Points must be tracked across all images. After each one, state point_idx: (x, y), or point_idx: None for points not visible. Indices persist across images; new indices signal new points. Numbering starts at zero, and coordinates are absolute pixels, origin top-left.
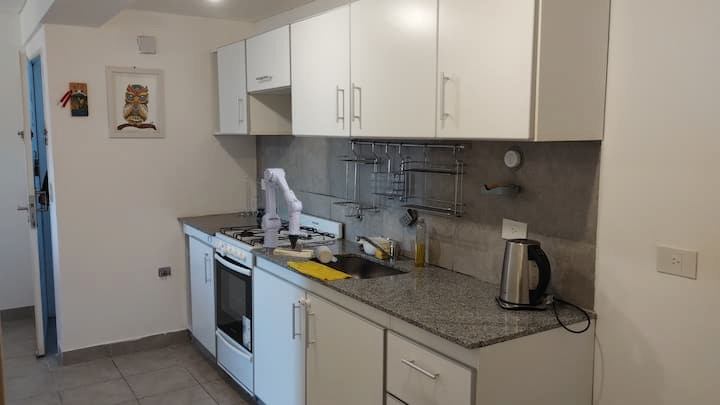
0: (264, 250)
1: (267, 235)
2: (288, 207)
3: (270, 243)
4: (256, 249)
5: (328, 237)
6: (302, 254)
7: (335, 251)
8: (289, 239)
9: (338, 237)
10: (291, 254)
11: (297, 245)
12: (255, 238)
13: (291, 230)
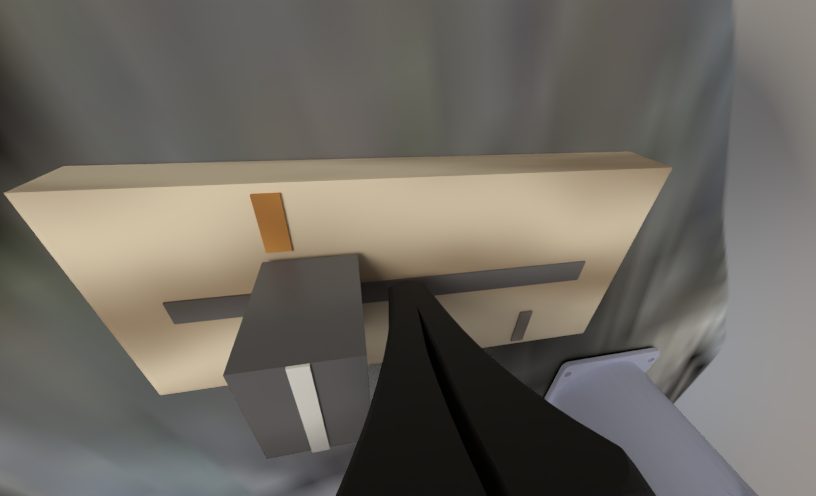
0: (665, 277)
1: (712, 455)
2: None
3: (623, 387)
4: (718, 279)
5: None
6: (200, 176)
7: (37, 483)
8: (562, 414)
9: None
10: (399, 165)
11: (327, 330)
12: None
13: None
